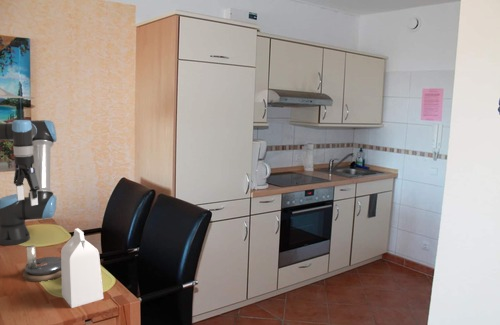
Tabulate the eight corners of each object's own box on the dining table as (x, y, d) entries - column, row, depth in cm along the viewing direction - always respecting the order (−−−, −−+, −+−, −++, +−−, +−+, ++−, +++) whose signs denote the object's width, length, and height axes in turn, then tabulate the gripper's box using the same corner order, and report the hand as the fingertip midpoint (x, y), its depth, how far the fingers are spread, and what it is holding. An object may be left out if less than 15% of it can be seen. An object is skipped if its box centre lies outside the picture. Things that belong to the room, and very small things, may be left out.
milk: (103, 298, 159) (100, 231, 155) (71, 308, 152) (67, 238, 148) (92, 287, 168) (89, 223, 164) (61, 295, 161) (57, 229, 157)
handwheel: (53, 258, 190) (51, 234, 189) (72, 266, 182) (70, 242, 180) (18, 269, 178) (16, 244, 177) (37, 278, 170) (35, 252, 168)
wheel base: (55, 262, 192) (55, 257, 192) (75, 272, 182) (75, 268, 181) (16, 274, 179) (15, 269, 179) (34, 286, 169) (34, 281, 168)
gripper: (46, 157, 182) (49, 205, 186) (20, 151, 198) (23, 196, 201) (27, 159, 177) (31, 209, 180) (3, 153, 192) (6, 199, 196)
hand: (27, 202), depth 191 cm, fingers open, 13 cm apart
